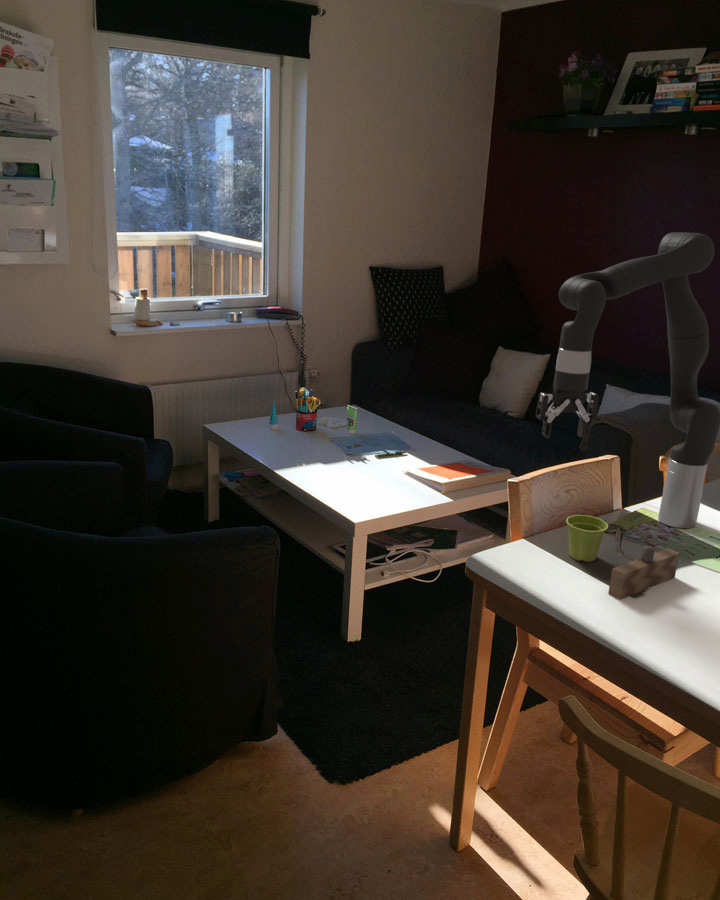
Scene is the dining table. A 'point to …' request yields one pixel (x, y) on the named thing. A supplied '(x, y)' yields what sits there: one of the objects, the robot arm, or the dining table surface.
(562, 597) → the dining table surface
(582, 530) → the plant pot
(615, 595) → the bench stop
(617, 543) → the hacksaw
